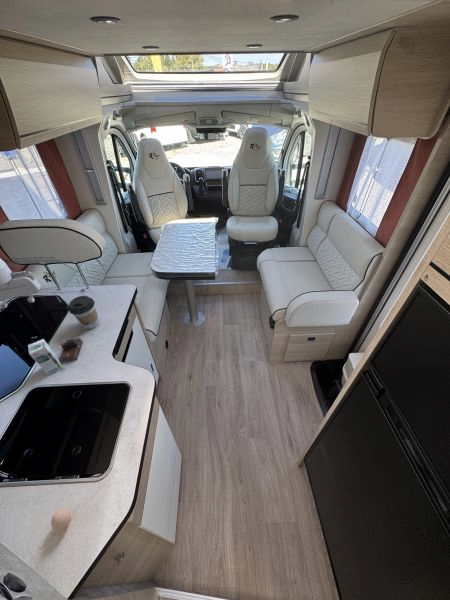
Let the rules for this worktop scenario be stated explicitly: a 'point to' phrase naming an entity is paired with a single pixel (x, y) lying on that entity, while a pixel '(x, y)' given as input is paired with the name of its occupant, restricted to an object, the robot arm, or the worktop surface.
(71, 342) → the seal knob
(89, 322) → the coffee cup
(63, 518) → the egg
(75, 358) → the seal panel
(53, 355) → the syrup box
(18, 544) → the worktop surface
